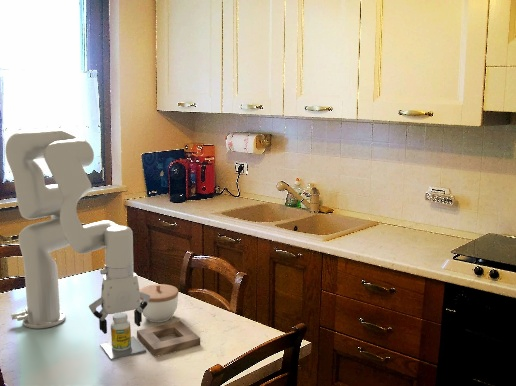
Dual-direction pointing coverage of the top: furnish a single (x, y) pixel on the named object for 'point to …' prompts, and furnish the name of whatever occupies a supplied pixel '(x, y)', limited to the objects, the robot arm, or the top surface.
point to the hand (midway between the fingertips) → (121, 328)
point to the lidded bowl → (160, 302)
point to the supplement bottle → (120, 332)
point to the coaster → (133, 350)
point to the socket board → (158, 348)
